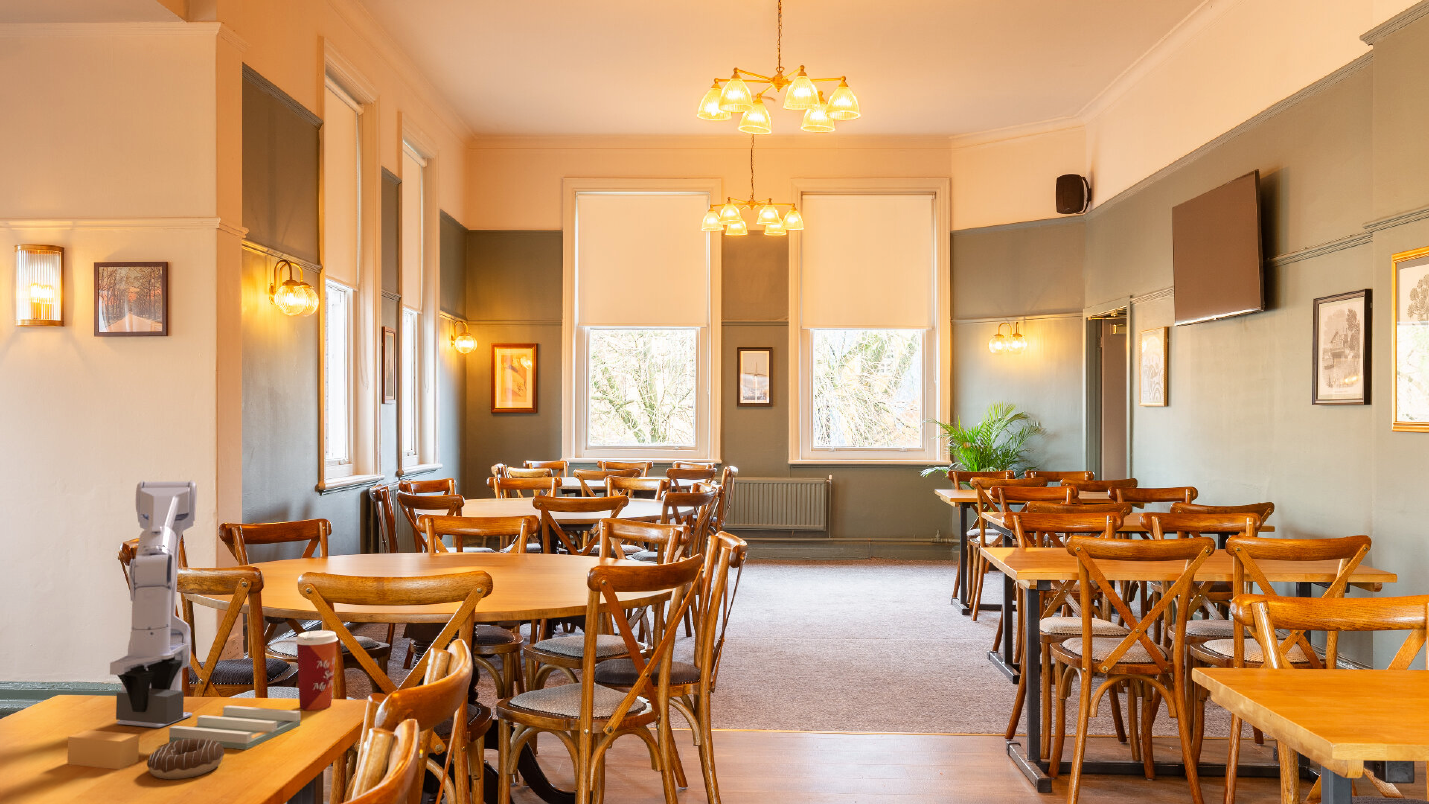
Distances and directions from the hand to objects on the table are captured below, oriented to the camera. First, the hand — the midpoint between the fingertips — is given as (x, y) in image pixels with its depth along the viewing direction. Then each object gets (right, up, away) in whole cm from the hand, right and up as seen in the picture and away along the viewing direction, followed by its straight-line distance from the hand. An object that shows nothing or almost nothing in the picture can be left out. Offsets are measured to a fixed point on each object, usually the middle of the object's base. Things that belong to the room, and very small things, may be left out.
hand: (149, 707), depth 164 cm
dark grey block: (0, -2, 0) cm, 2 cm away
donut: (+12, -7, -11) cm, 17 cm away
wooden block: (-3, -7, -8) cm, 11 cm away
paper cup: (+18, -8, +24) cm, 31 cm away
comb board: (+11, -7, +7) cm, 15 cm away
